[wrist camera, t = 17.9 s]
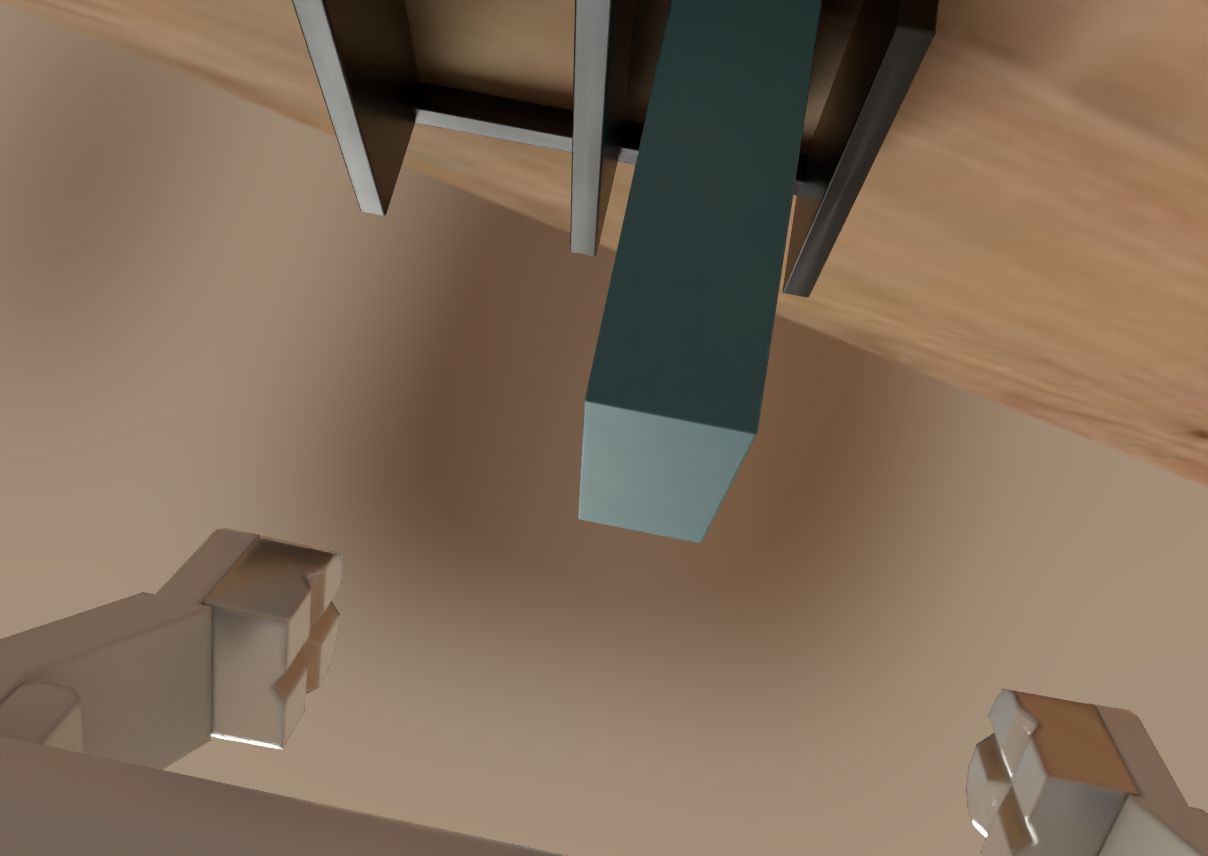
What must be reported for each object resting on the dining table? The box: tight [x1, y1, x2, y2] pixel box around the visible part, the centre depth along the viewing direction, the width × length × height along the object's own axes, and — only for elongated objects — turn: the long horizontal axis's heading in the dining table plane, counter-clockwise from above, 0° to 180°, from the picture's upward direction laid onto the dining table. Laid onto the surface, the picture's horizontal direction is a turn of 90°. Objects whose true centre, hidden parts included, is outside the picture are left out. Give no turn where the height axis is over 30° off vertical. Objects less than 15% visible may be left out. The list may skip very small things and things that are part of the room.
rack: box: [292, 0, 939, 297], centre depth 33 cm, size 17×14×6 cm
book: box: [578, 0, 822, 543], centre depth 31 cm, size 4×10×16 cm, turn 178°
